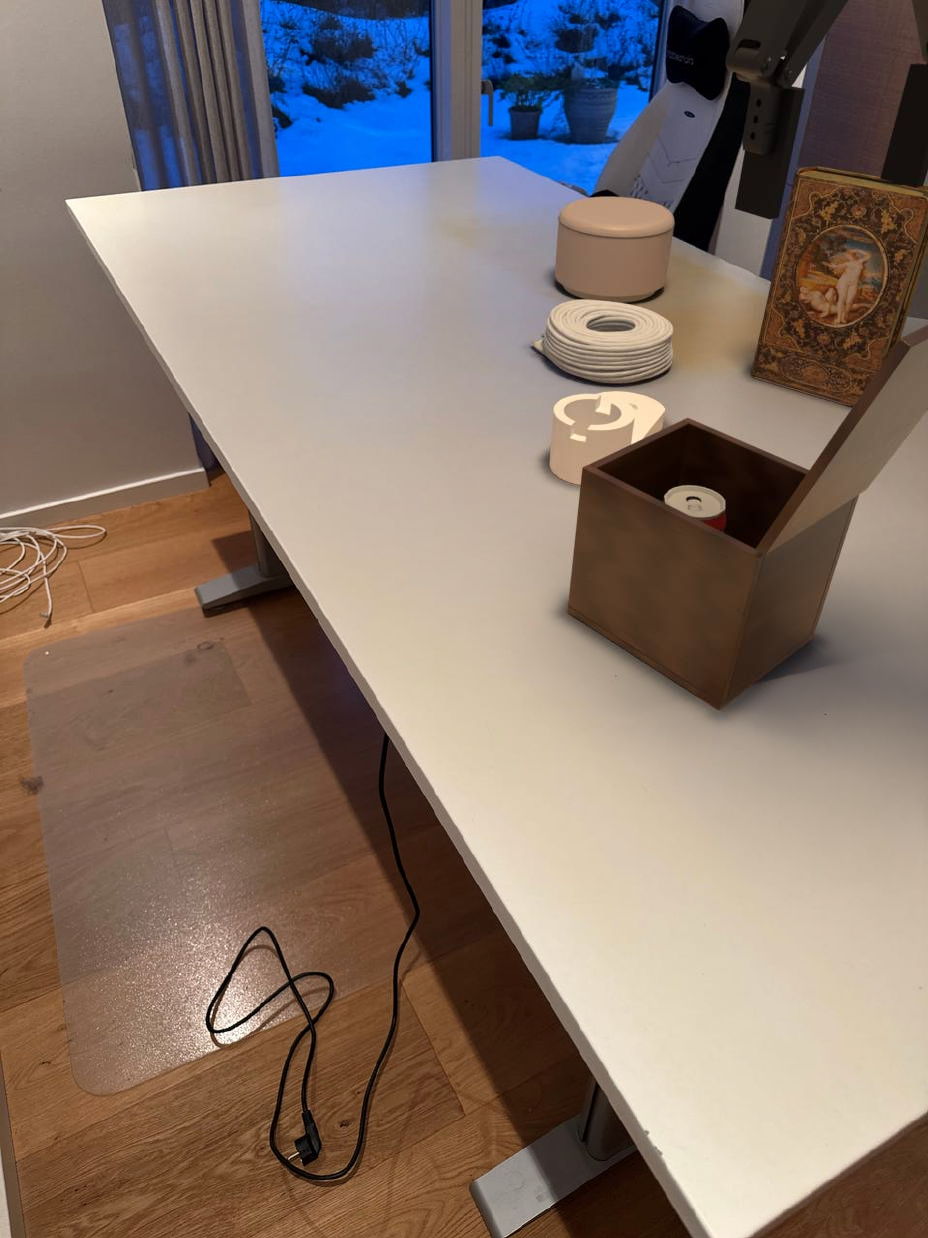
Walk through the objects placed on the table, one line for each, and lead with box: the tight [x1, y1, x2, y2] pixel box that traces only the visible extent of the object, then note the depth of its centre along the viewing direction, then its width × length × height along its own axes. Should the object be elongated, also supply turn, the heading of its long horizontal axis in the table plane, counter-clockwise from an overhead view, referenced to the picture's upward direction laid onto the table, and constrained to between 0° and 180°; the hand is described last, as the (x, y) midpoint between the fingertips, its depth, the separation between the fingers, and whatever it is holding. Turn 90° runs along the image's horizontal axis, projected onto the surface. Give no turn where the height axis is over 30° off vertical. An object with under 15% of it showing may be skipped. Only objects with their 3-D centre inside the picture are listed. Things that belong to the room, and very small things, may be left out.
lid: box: [756, 324, 928, 556], centre depth 61 cm, size 17×14×1 cm
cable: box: [530, 299, 674, 384], centre depth 125 cm, size 18×18×6 cm
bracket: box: [549, 390, 666, 486], centre depth 105 cm, size 20×9×7 cm, turn 152°
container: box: [554, 196, 676, 303], centre depth 146 cm, size 18×18×12 cm
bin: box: [567, 417, 860, 711], centre depth 77 cm, size 17×14×15 cm
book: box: [750, 165, 928, 407], centre depth 113 cm, size 16×6×25 cm, turn 51°
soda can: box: [663, 485, 726, 533], centre depth 78 cm, size 6×6×12 cm
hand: (832, 197), depth 57 cm, fingers open, 13 cm apart
